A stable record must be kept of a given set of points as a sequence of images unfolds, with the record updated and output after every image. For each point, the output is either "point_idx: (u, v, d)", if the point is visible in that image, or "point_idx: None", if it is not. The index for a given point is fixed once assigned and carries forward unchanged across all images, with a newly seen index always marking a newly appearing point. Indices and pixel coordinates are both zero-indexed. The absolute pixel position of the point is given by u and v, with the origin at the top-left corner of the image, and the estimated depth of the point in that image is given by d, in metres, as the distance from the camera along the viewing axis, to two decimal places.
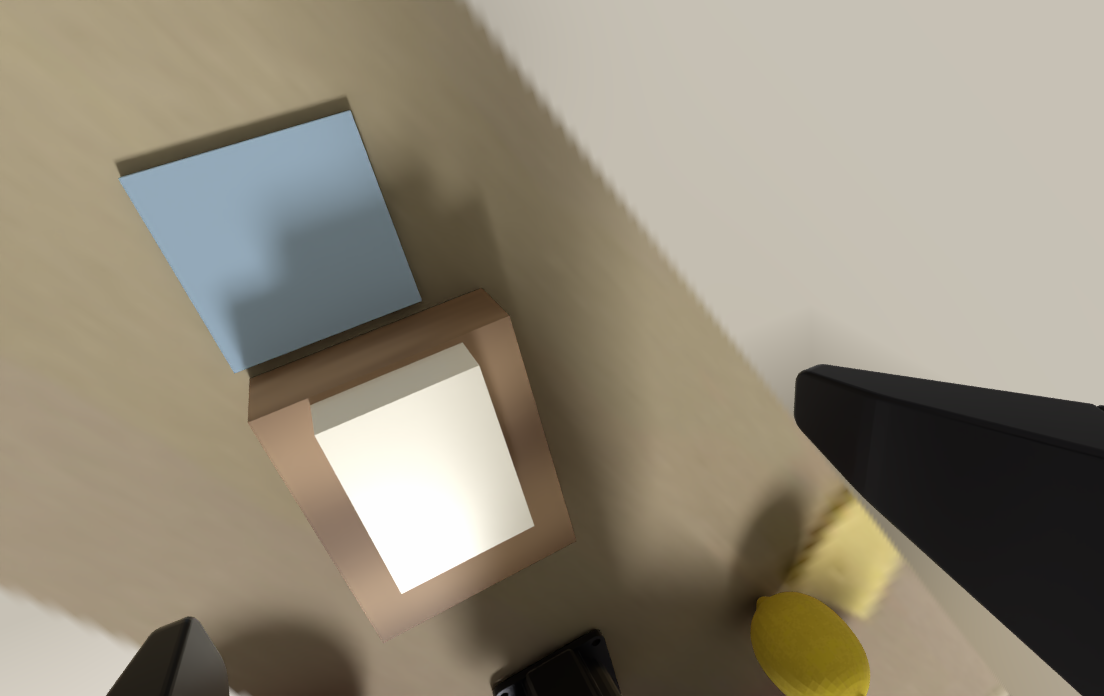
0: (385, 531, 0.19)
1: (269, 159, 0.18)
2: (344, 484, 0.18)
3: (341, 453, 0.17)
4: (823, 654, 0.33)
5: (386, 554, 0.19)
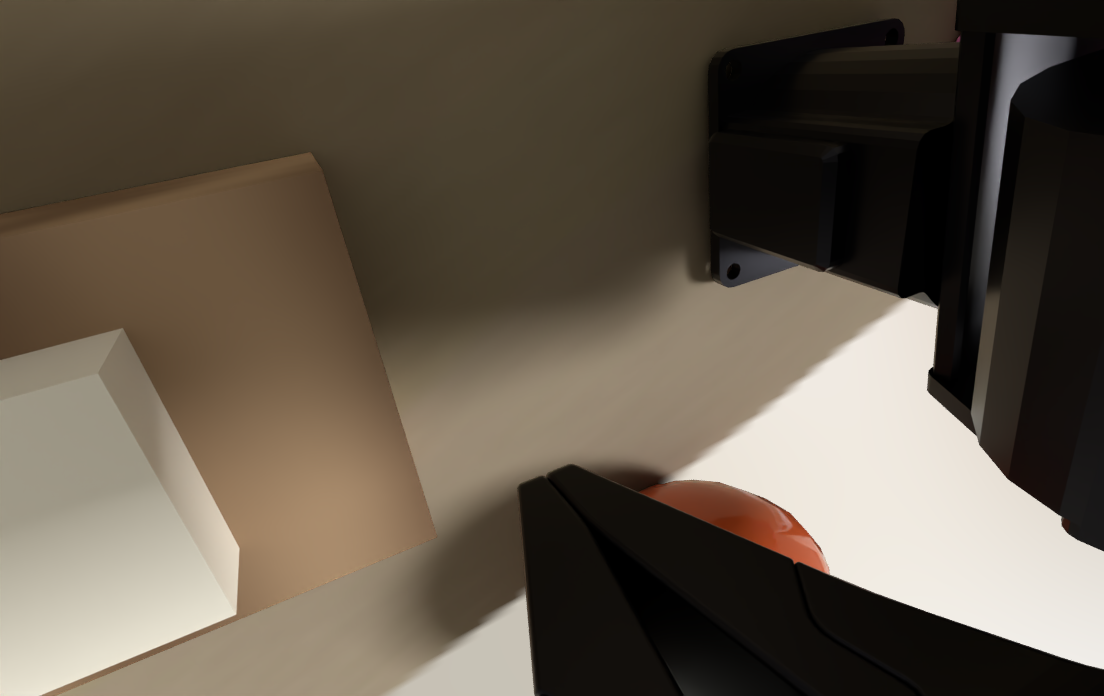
0: (42, 670, 0.10)
1: None
2: None
3: None
4: None
5: (113, 655, 0.10)
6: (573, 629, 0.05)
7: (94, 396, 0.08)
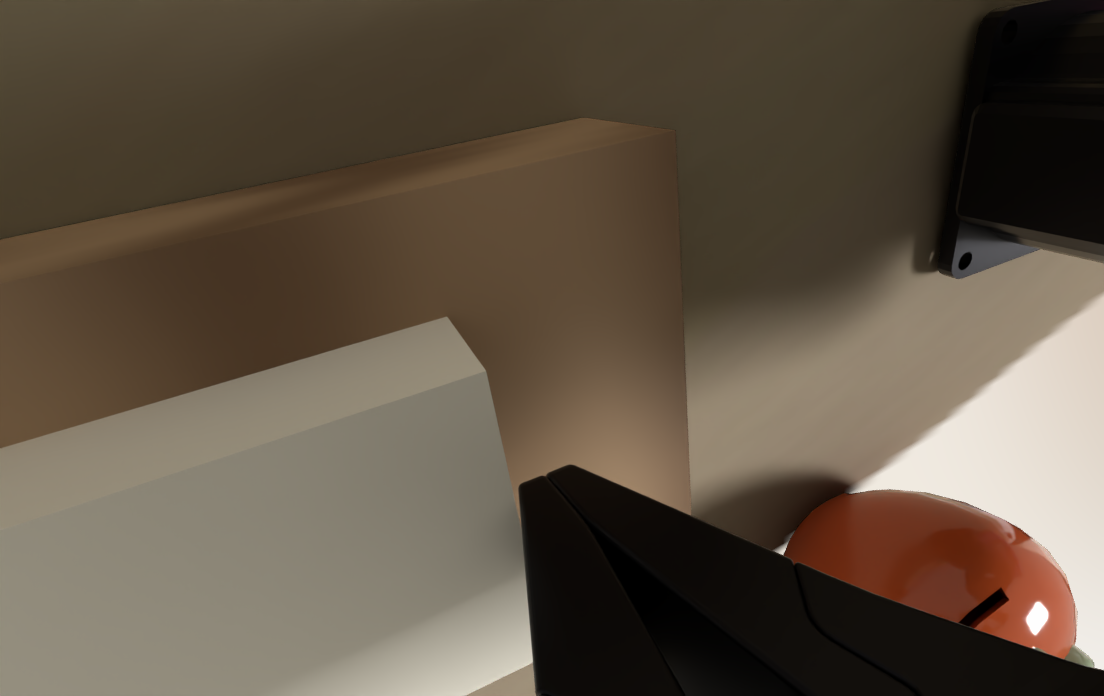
0: None
1: None
2: None
3: None
4: None
5: None
6: (574, 628, 0.05)
7: (476, 399, 0.07)
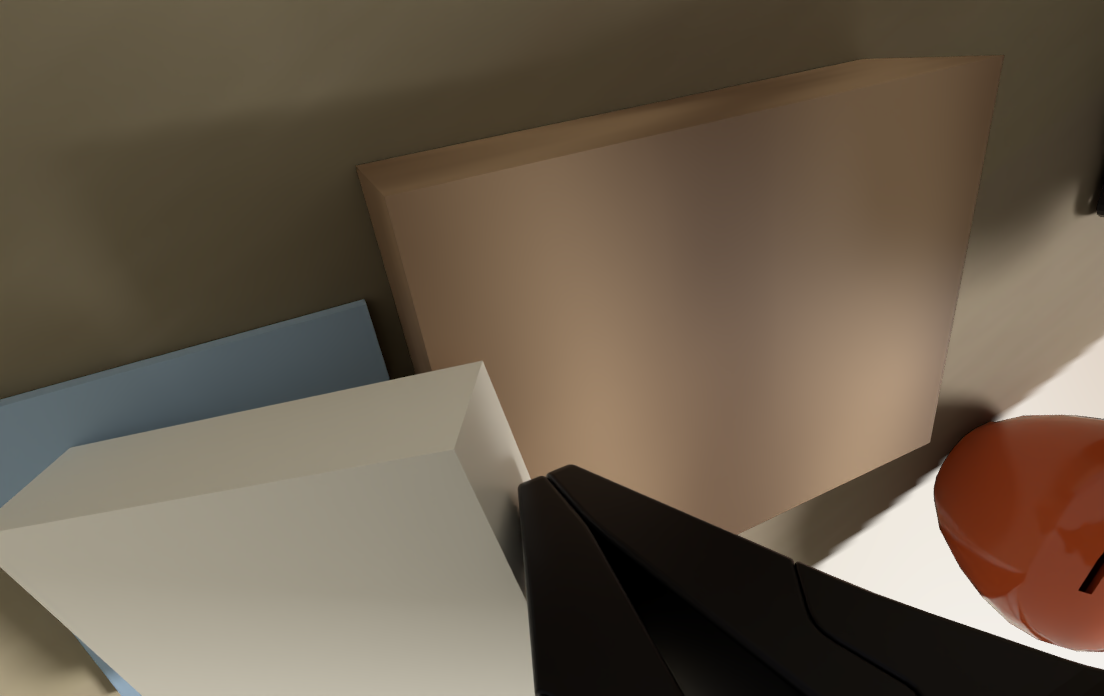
0: None
1: None
2: None
3: None
4: None
5: None
6: (573, 629, 0.05)
7: (449, 473, 0.07)
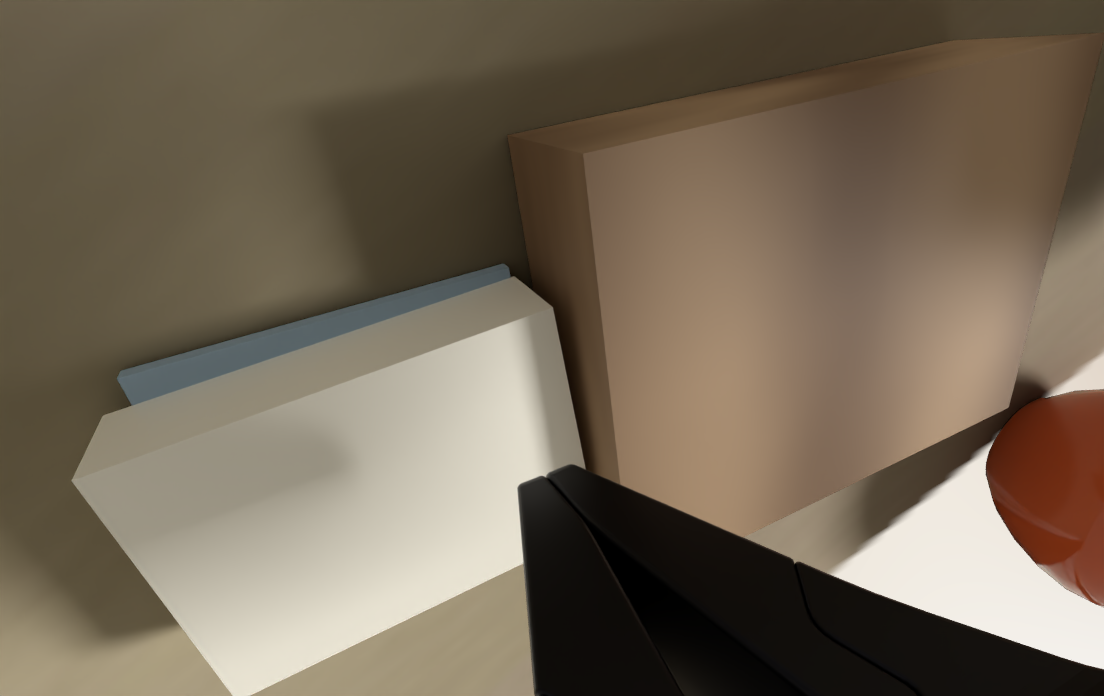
0: (465, 571, 0.11)
1: None
2: (348, 643, 0.11)
3: (281, 660, 0.10)
4: None
5: (512, 561, 0.12)
6: (573, 629, 0.05)
7: (546, 327, 0.10)
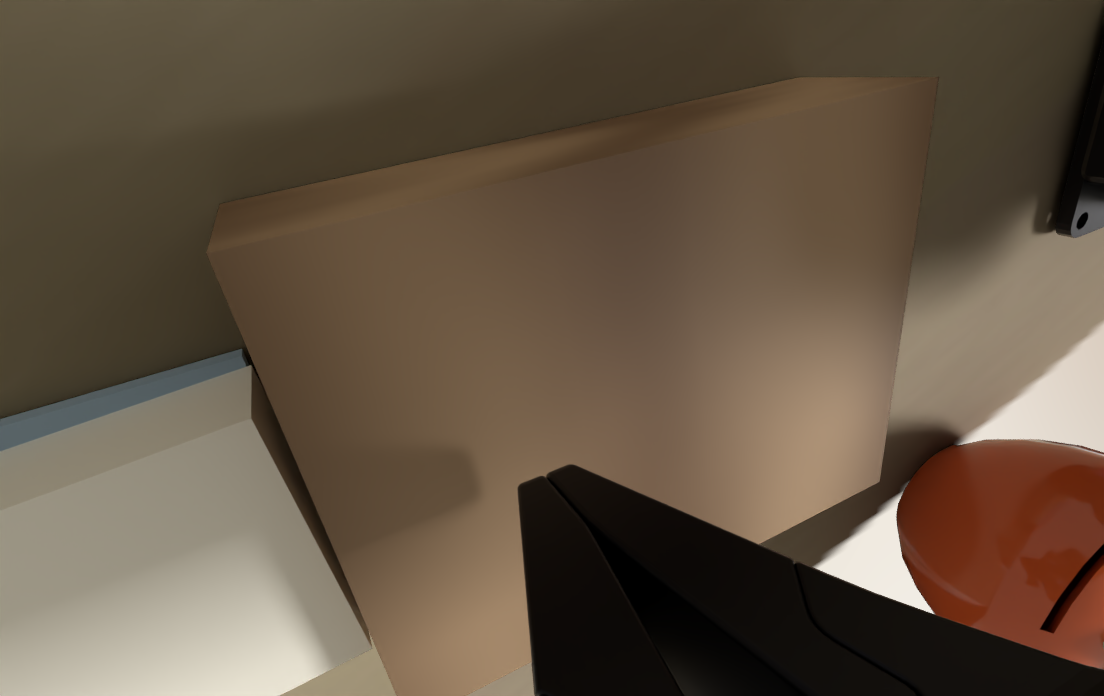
0: None
1: None
2: None
3: None
4: None
5: None
6: (573, 629, 0.05)
7: (247, 441, 0.08)
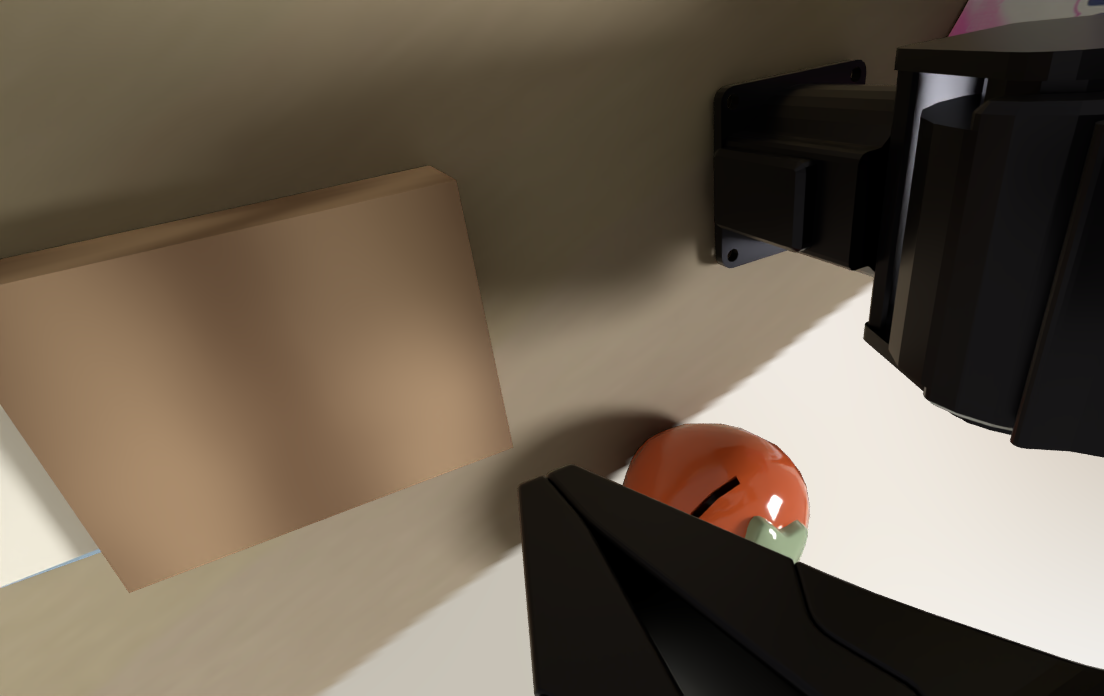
0: None
1: None
2: None
3: None
4: None
5: (26, 570, 0.15)
6: (573, 629, 0.05)
7: None
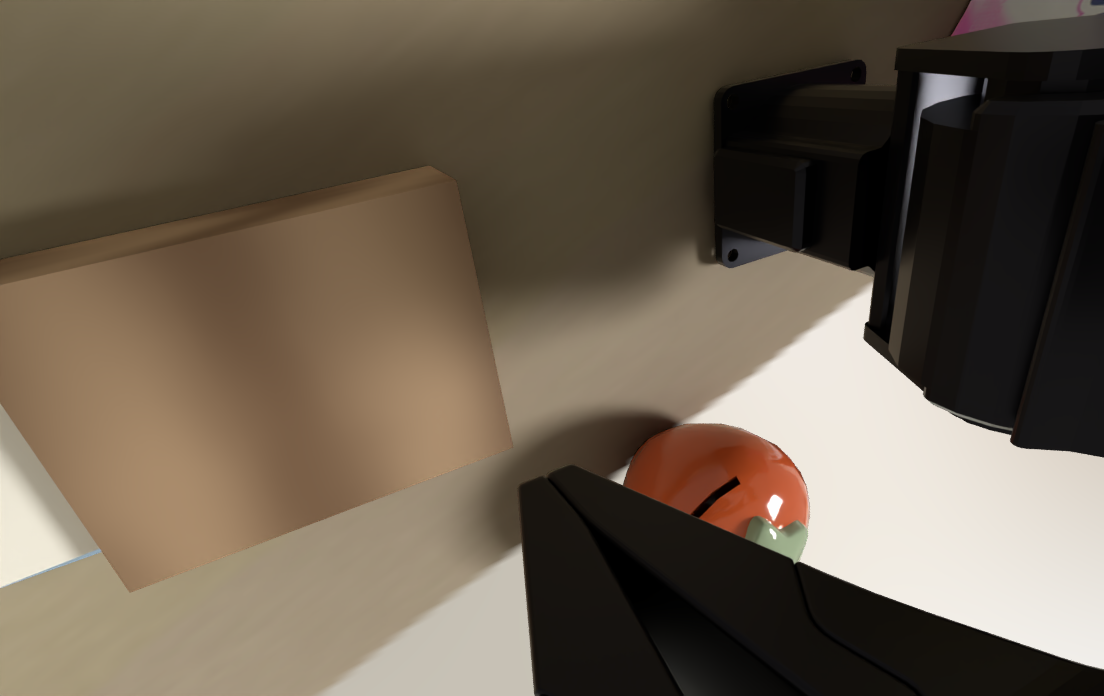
0: None
1: None
2: None
3: None
4: None
5: (27, 570, 0.15)
6: (573, 629, 0.05)
7: None
